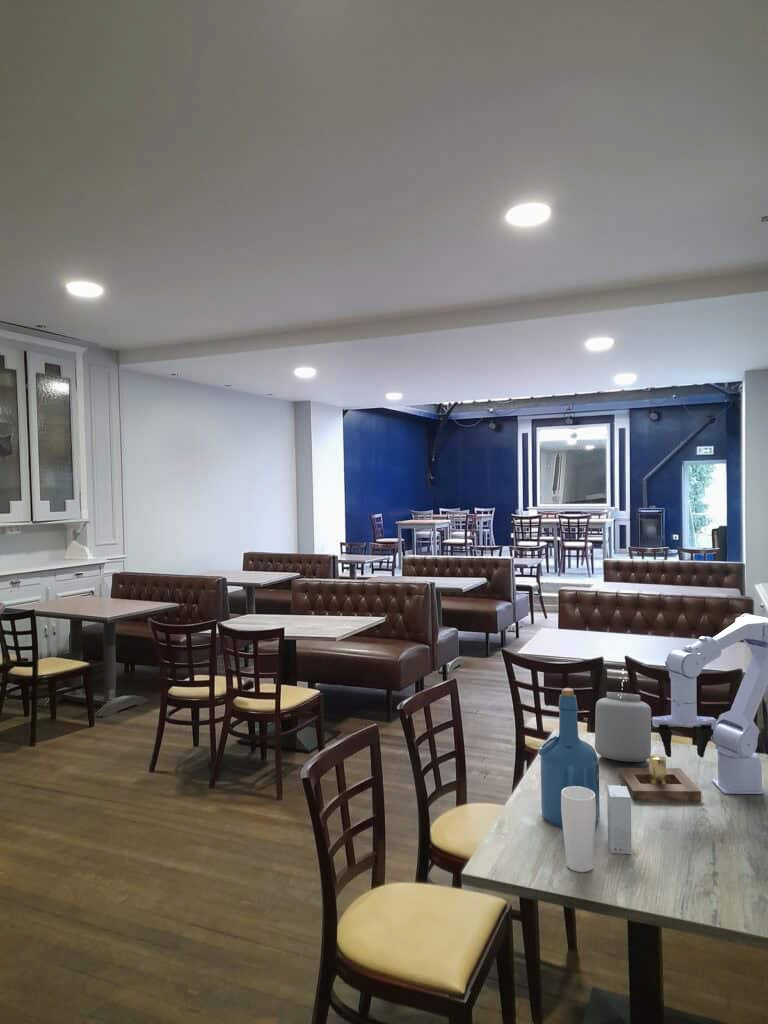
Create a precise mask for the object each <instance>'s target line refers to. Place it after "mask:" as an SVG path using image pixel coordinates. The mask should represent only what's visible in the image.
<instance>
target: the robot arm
mask: <svg viewBox="0 0 768 1024" xmlns="http://www.w3.org/2000/svg"><path fill="white" fill-rule="evenodd" d="M741 641H743V642H744V643H745V645H746V646H747V647H748V648H749V649H750V651H751V654H752V655H751V658H750V661H749V663H748V666H747V668H746V670H745V673H744V675H743V678H742V680H741V683H740V686H739V688H738V690H737V692H736V695H735V698H734V701H733V703H732V705H731V708H730V710H728V711H725V712H724V713H723V712H722V713H721V714H719V716H718V719H716V718H714V717H713V716H702V715H700V716H699V715H698V711H697V709H698V707H697V703H698V702H697V696H698V695H697V677H698V676H699V675H700V674H701V673H702V670H703V668H705V666H706V665H708V664H710V663H712V662H713V661H715V660H717V659H718V658H720V657H721V655H722V650H725V649H727V648H729V647H730V646H733V645H735V644H737V643H739V642H741ZM664 665H665V668H666V670H667V671H668V675H669V676H668V677H669V679H670V713H671V714H670V715H661V716H651V726H653V727H654V728H656V730H657V732H658V734H659V736H660V738H661V741H662V745H663V748H664V753H665V755H666V757H668V758H672V737H673V736H672V735H673V732H672V731H671V728H670V727H695V731H696V741H697V743H696V744H697V745H696V751H697V753H696V754H697V756H699V757H700V758H704V757H705V752H706V749H707V745H708V743H709V741H710V740H711V742H712V743H713V744H714V746H715V750H717V778H712V779H711V781H712V783H713V784H714V785H715V786H716V787H717V788H718V789H719V791H721V792H722V793H723V794H726V795H729V794H730V795H732V794H733V795H734V794H736V795H738V794H739V795H763V794H764V791H763V768H762V767H763V766H762V761H761V759H760V757H759V754H757V753H756V751H757V747H758V739H759V734H760V732H761V731H760V729H759V727H758V726H757V725H756V723H755V721H754V719H755V717H756V714H757V711H758V709H759V707H760V705H761V702H762V699H763V698H764V694H765V692H766V690H767V687H768V617H765V616H759V615H755V614H751V613H743V614H741V615H739V616H738V617H735V619H734V622H733V623H732V624H731V625H729V626H728V627H726V628H724V629H723V630H722V631H721V632H719V633H718V634H716V635H715V636H713V637H711V636H703V635H701V636H700V637H698V640H696V641H694V642H693V643H691V644H689V645H685V646H684V648H683V649H674V650H672V651H671V652H669V653H668V655H667V657H666V660H665V661H664Z"/></svg>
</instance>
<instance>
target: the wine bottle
mask: <svg viewBox="0 0 768 1024" xmlns="http://www.w3.org/2000/svg"><path fill="white" fill-rule="evenodd" d="M573 689H574V688H570V687H565V688H562V689H561V694H559V699H558V710H559V711H558V712H559V717H558V719H559V720H558V734H556V735H555V736H553V737H551V738H549V739H548V740H547V741H546V742H545V743H544V744H543V745H542V746H541V747H540V748H539V750H537V751H538V752H537V754H539V756H540V758H539V761H540V803H541V805H540V806H541V808H540V809H541V815H542V817H543V819H545V820H546V821H547V822H548V823H549V824H551V825H553V826H557V827H560V828H562V829H563V824H562V815H561V791H562V790H563V789H564V788H566V787H570V786H580V787H585V788H588V789H590V790H592V791H593V792H594V793H595V799H596V823H595V825H596V824H597V823H598V822H599V820H600V818H601V813H600V812H601V809H600V808H601V807H600V806H601V805H600V803H601V802H600V761H599V757H598V755H597V754H598V753H597V752H596V750H595V747H593V746H592V745H591V744H589V743H588V742H586V741H584V740H583V739H581V738H580V737H579V725H578V724H579V723H578V722H579V721H578V711H579V708H578V703H577V702H578V701H577V695H576V694H574V693H575V692H574V690H573Z"/></svg>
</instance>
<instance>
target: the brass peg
mask: <svg viewBox="0 0 768 1024" xmlns="http://www.w3.org/2000/svg"><path fill="white" fill-rule="evenodd" d="M648 768H649V784H666V768H667V758H666V756H664V755H659V754H651V755H650V756H649V759H648Z"/></svg>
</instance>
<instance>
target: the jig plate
mask: <svg viewBox="0 0 768 1024" xmlns="http://www.w3.org/2000/svg"><path fill="white" fill-rule="evenodd" d="M617 778H618V780H619V779H620V780H619V781H620V783H621V782H622V783H621V784H622V786H623V785H624V786H627V789H628V792H629V794H630V797H631V801H633V802H691V803H692V802H694V803H695V802H699V803H700V802H702V790H700V789H699V787H697V785H696V784H695V782H693V781H692V780H691V779H690V777H689V776H688V775H687V774H686V773H685V772H684V770H683V769H682V768H680V767H677V768H676V767H666V784H649V767H617Z"/></svg>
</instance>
